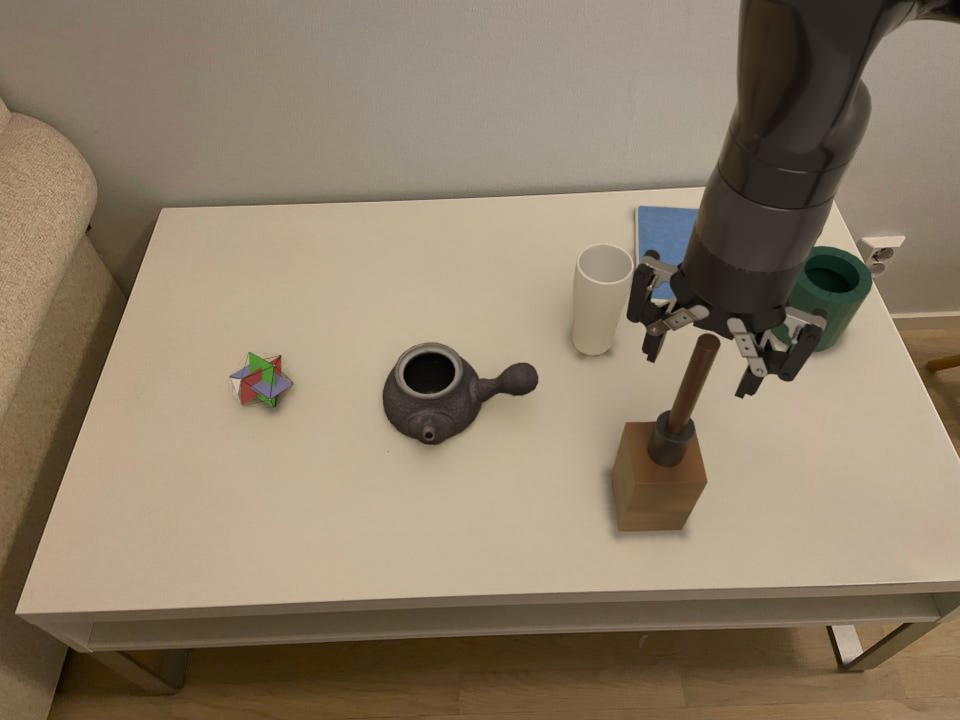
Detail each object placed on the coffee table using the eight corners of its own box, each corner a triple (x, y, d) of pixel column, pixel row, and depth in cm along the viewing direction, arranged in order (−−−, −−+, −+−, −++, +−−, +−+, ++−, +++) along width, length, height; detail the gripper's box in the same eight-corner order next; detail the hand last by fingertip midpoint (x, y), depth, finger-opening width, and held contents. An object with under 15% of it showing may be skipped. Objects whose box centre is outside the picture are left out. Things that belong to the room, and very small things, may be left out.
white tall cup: (555, 340, 93) (563, 262, 81) (589, 313, 96) (603, 233, 84) (593, 370, 90) (607, 293, 78) (627, 342, 93) (646, 263, 81)
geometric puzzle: (271, 344, 91) (230, 340, 84) (312, 366, 89) (273, 363, 82) (251, 394, 92) (208, 394, 85) (291, 417, 90) (250, 419, 82)
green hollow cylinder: (847, 312, 95) (879, 261, 87) (831, 362, 90) (864, 312, 82) (777, 288, 98) (802, 236, 90) (759, 335, 93) (783, 285, 85)
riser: (670, 473, 82) (693, 420, 72) (681, 530, 78) (708, 482, 68) (610, 474, 82) (625, 422, 72) (618, 531, 78) (635, 484, 68)
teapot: (380, 471, 83) (367, 428, 75) (387, 365, 92) (376, 316, 84) (539, 466, 83) (544, 423, 74) (530, 360, 92) (534, 311, 84)
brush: (688, 444, 70) (738, 334, 56) (676, 473, 68) (724, 366, 54) (654, 429, 71) (694, 318, 57) (642, 457, 70) (679, 349, 55)
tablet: (728, 311, 96) (730, 305, 95) (635, 305, 97) (636, 298, 96) (716, 215, 107) (719, 208, 106) (633, 210, 108) (635, 203, 107)
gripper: (629, 226, 46) (600, 371, 59) (858, 304, 41) (770, 442, 55) (669, 160, 49) (633, 311, 63) (882, 226, 45) (794, 372, 59)
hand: (697, 371), depth 59 cm, fingers open, 7 cm apart
